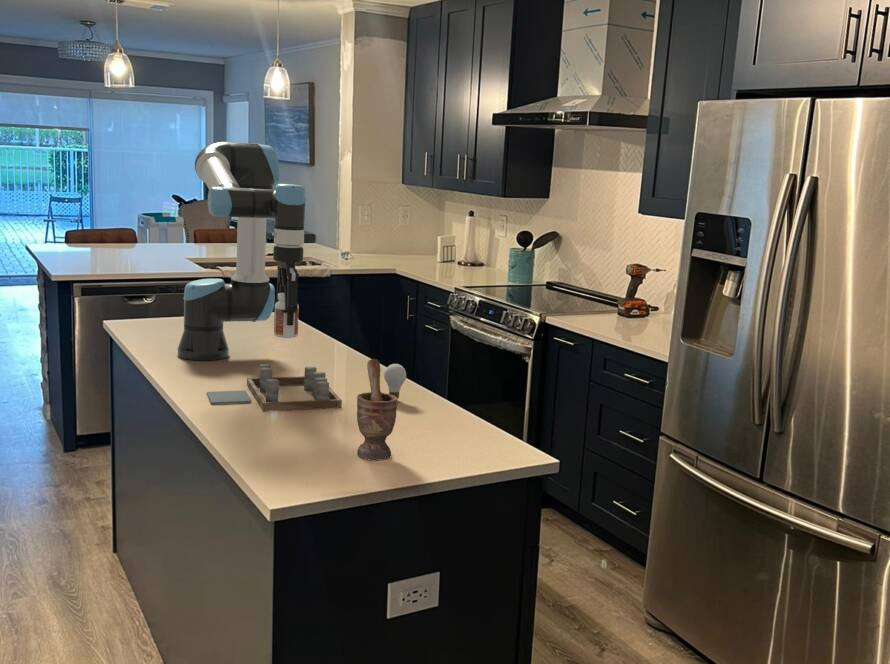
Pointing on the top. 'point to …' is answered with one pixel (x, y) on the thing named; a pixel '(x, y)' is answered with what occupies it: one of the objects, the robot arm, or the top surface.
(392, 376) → the light bulb
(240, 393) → the mat
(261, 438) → the top surface
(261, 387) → the tray
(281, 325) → the pill bottle
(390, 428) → the mortar and pestle
